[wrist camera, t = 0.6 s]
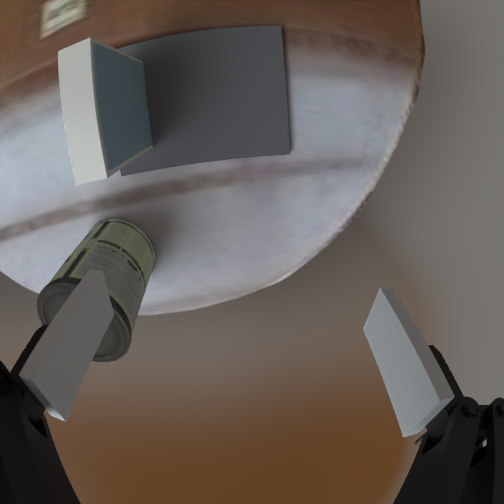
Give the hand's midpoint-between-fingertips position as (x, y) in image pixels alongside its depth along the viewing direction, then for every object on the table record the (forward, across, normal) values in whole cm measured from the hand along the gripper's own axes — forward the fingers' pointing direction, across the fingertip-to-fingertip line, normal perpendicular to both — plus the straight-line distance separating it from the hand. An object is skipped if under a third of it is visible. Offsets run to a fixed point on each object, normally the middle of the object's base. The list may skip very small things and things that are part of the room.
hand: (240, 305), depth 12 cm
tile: (+19, -12, +9) cm, 25 cm away
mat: (+21, -6, +10) cm, 24 cm away
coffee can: (+20, -16, -10) cm, 28 cm away
